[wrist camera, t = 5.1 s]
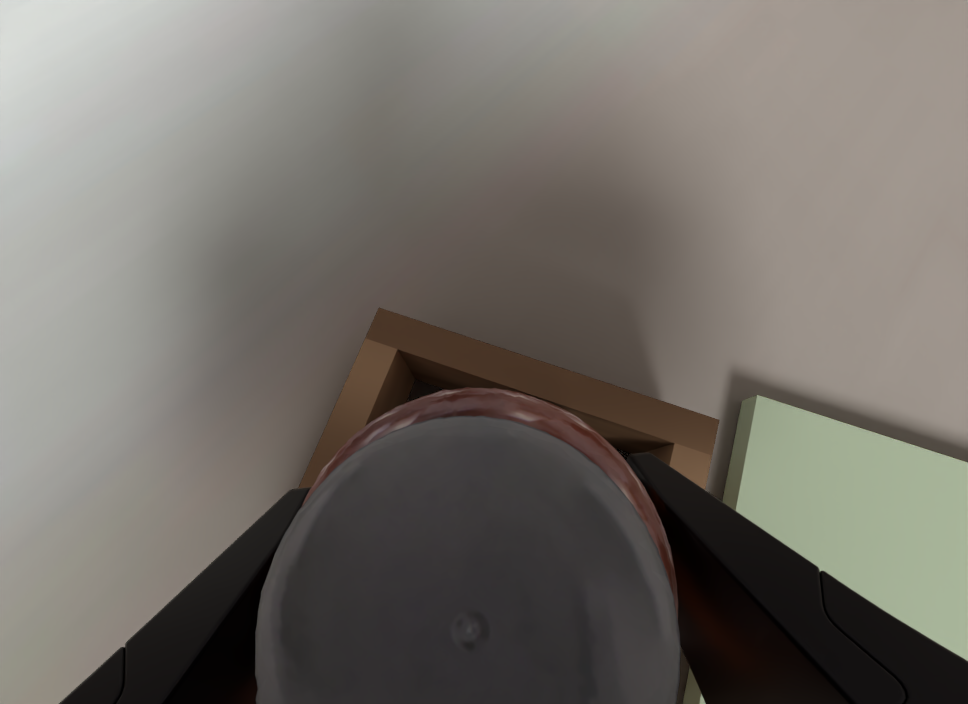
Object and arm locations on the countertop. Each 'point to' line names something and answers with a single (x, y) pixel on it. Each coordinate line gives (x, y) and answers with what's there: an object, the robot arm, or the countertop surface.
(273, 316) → the countertop surface
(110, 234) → the countertop surface
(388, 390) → the walnut collar
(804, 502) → the sage rubber mat
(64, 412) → the countertop surface
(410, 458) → the supplement bottle
